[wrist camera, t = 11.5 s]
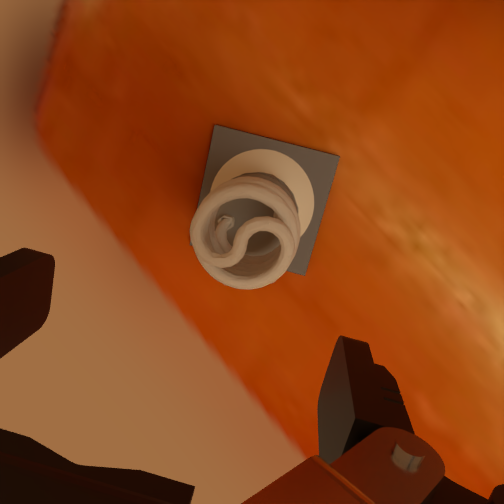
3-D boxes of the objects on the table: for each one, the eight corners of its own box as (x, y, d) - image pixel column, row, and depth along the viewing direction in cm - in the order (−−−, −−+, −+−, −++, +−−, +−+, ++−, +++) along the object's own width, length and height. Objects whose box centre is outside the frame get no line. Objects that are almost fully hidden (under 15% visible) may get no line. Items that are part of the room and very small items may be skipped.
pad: (216, 124, 32) (214, 124, 31) (338, 156, 32) (339, 156, 31) (192, 242, 35) (189, 245, 34) (304, 272, 34) (304, 276, 33)
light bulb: (236, 250, 33) (202, 314, 22) (213, 177, 32) (162, 205, 21) (310, 229, 32) (314, 285, 21) (288, 154, 31) (280, 169, 20)
